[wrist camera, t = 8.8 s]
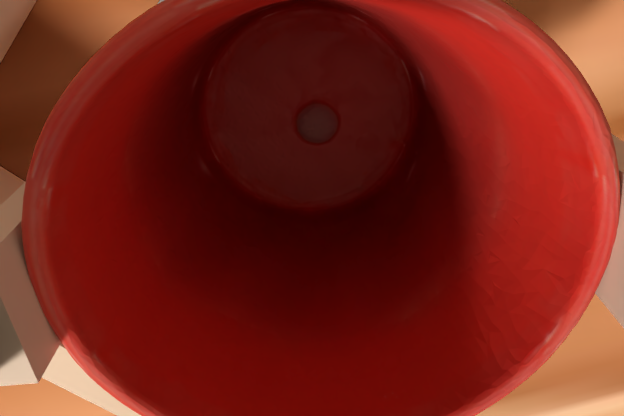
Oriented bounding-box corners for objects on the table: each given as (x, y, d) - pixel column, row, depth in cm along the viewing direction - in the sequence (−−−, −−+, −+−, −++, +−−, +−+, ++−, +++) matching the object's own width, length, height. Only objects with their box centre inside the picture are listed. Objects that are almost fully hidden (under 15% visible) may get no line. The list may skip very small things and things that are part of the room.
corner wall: (-102, 144, 19) (-257, 227, 14) (171, -373, 13) (85, -576, 8) (280, 373, 25) (276, 495, 19) (595, 83, 19) (714, 146, 13)
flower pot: (476, 218, 21) (606, 428, 12) (198, 264, 21) (133, 496, 13) (463, -94, 16) (668, -117, 7) (102, -21, 16) (-113, 39, 8)
